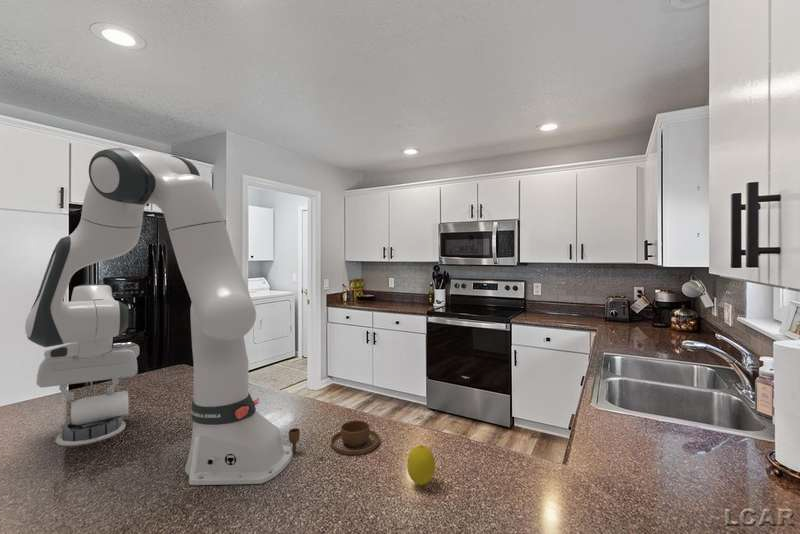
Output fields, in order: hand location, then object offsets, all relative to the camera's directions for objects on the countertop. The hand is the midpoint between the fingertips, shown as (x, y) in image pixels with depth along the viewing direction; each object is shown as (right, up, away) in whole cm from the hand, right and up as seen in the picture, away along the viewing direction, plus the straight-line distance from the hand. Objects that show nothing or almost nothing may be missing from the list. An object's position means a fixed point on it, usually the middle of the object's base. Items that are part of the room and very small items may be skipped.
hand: (90, 397), depth 97 cm
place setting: (+67, -10, -6) cm, 68 cm away
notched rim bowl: (+1, -9, -1) cm, 9 cm away
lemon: (+86, -9, -24) cm, 89 cm away
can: (+7, -3, +5) cm, 9 cm away
